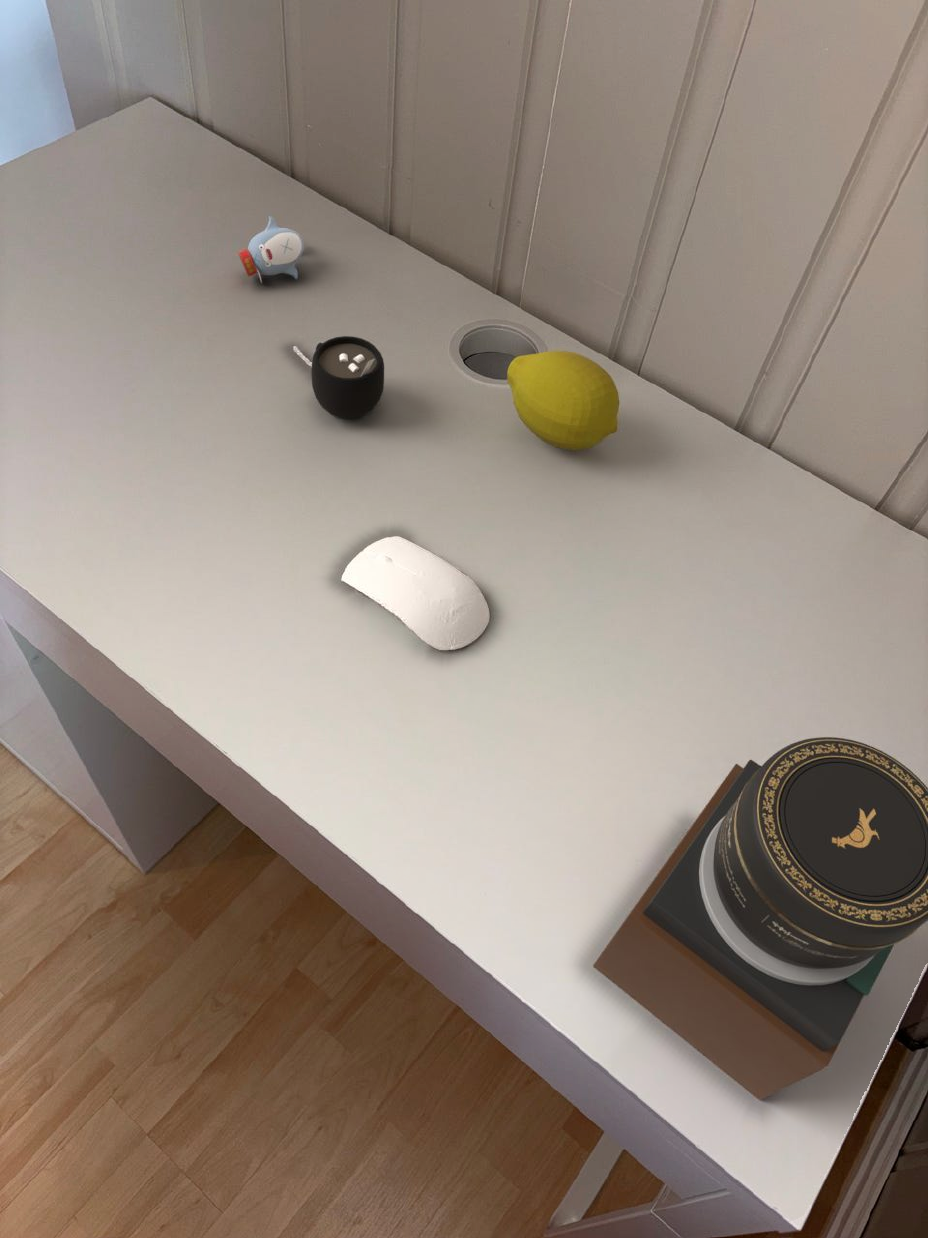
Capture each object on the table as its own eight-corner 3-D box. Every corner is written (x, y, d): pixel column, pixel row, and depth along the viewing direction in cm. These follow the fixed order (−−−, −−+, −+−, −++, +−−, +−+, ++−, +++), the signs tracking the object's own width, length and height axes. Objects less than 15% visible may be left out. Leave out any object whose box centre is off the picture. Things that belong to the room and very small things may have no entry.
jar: (906, 849, 54) (979, 790, 47) (864, 1018, 48) (940, 976, 42) (735, 767, 56) (783, 699, 49) (675, 920, 50) (721, 866, 44)
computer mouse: (391, 528, 80) (392, 510, 78) (504, 613, 76) (508, 595, 74) (331, 576, 76) (331, 557, 74) (447, 666, 73) (449, 649, 71)
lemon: (630, 444, 88) (652, 375, 81) (574, 487, 84) (593, 419, 78) (541, 381, 91) (555, 310, 85) (483, 419, 88) (494, 349, 81)
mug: (398, 412, 87) (402, 346, 81) (341, 441, 85) (340, 374, 79) (321, 338, 92) (318, 270, 86) (264, 363, 89) (257, 295, 83)
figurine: (295, 238, 100) (325, 253, 98) (240, 286, 98) (270, 303, 96) (279, 196, 95) (310, 212, 94) (221, 246, 93) (252, 263, 92)
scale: (847, 942, 63) (942, 873, 53) (759, 1101, 57) (848, 1057, 47) (689, 828, 67) (750, 742, 57) (592, 966, 61) (640, 898, 51)
